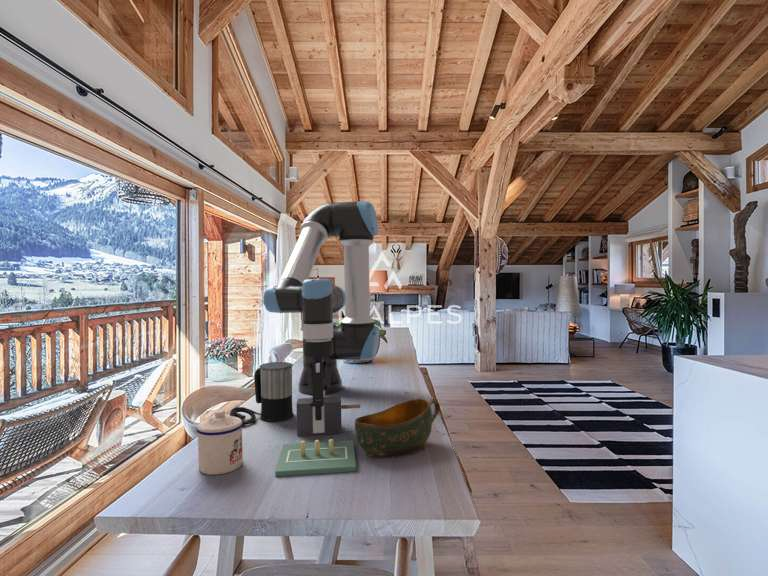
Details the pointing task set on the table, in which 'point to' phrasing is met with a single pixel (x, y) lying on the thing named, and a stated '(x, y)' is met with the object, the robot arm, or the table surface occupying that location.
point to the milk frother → (271, 393)
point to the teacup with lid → (220, 444)
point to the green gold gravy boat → (397, 429)
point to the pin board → (316, 458)
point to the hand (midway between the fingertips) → (319, 423)
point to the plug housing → (330, 416)
